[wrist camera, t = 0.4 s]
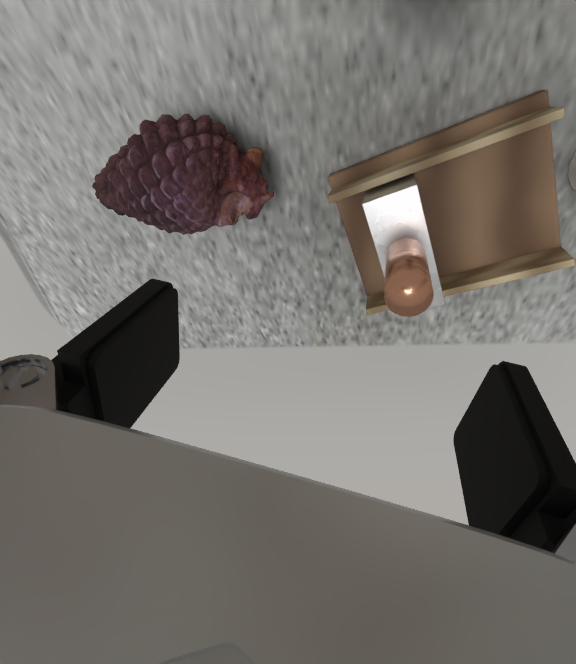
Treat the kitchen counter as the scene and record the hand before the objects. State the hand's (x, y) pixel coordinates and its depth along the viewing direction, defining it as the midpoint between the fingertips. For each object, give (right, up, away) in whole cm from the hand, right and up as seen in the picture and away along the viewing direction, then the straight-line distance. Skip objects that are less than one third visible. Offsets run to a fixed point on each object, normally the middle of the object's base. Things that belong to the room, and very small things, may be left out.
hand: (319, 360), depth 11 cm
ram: (+10, +10, +24) cm, 27 cm away
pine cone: (-10, +17, +27) cm, 33 cm away
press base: (+13, +12, +24) cm, 29 cm away
